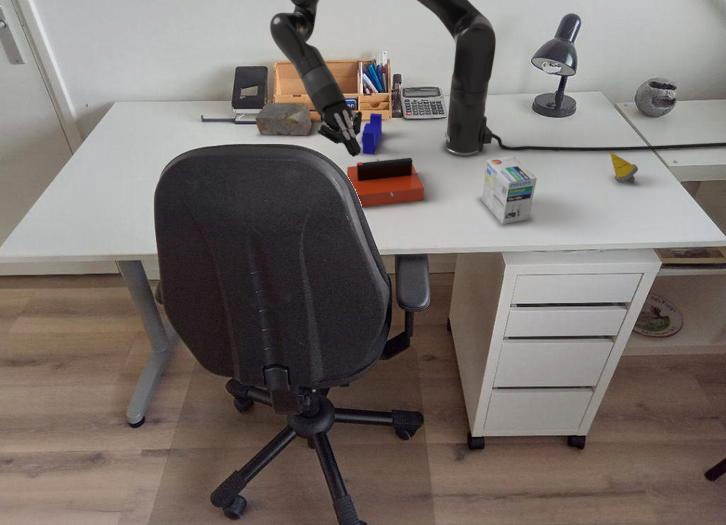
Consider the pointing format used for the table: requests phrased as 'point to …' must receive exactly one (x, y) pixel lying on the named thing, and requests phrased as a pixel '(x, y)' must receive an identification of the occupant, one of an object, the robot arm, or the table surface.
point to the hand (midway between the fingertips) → (357, 154)
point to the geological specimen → (284, 119)
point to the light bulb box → (508, 189)
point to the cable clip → (372, 133)
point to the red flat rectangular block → (387, 188)
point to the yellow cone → (623, 169)
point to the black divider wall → (384, 169)
